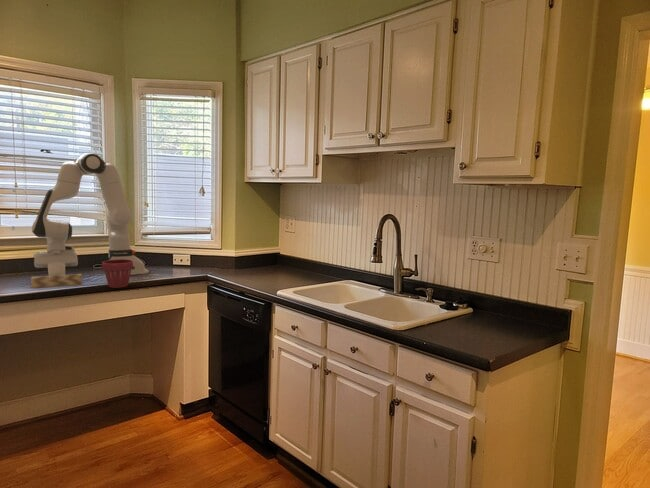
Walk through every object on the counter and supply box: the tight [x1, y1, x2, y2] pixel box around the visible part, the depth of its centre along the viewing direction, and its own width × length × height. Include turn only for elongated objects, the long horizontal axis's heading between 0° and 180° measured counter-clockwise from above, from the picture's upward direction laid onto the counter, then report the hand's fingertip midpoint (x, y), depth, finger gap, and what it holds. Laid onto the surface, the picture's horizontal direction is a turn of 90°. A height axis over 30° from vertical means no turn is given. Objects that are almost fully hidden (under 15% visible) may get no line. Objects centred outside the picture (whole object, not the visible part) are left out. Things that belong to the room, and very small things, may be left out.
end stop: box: [30, 273, 83, 289], centre depth 235 cm, size 22×5×5 cm, turn 120°
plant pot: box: [101, 259, 133, 289], centre depth 237 cm, size 14×14×13 cm
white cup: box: [47, 262, 66, 276], centre depth 241 cm, size 8×8×10 cm
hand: (56, 272), depth 244 cm, fingers closed, pressing on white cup
